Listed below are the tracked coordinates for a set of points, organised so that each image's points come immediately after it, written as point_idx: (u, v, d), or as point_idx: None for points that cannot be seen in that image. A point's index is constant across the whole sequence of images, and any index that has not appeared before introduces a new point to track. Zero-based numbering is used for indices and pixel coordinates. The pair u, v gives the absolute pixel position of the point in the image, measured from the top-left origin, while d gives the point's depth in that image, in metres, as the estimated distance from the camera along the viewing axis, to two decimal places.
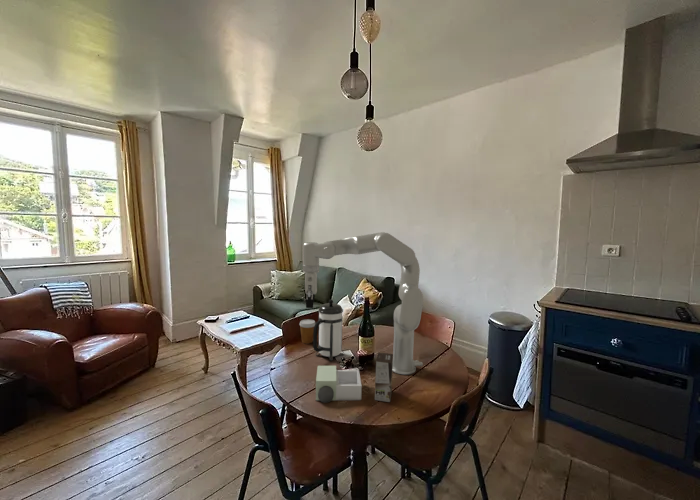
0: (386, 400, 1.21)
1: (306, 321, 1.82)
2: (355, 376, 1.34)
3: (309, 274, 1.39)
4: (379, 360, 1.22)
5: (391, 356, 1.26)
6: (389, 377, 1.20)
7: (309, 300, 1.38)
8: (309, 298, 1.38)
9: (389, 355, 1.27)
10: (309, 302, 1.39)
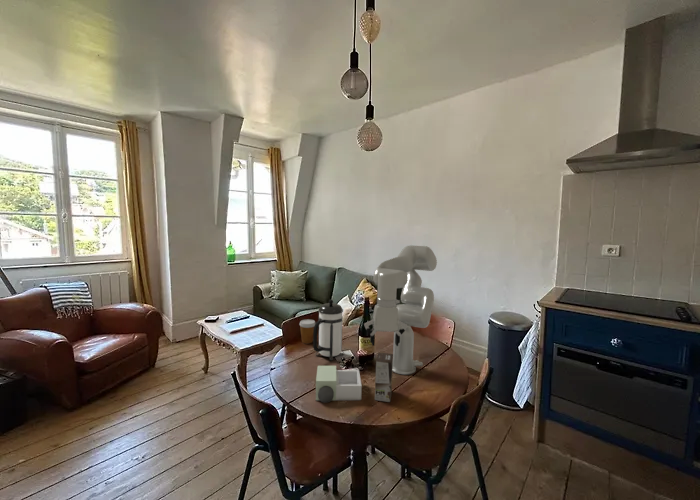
0: (386, 400, 1.21)
1: (306, 321, 1.82)
2: (355, 376, 1.34)
3: (397, 307, 1.23)
4: (379, 360, 1.22)
5: (391, 356, 1.26)
6: (389, 377, 1.20)
7: None
8: None
9: (389, 355, 1.27)
10: None
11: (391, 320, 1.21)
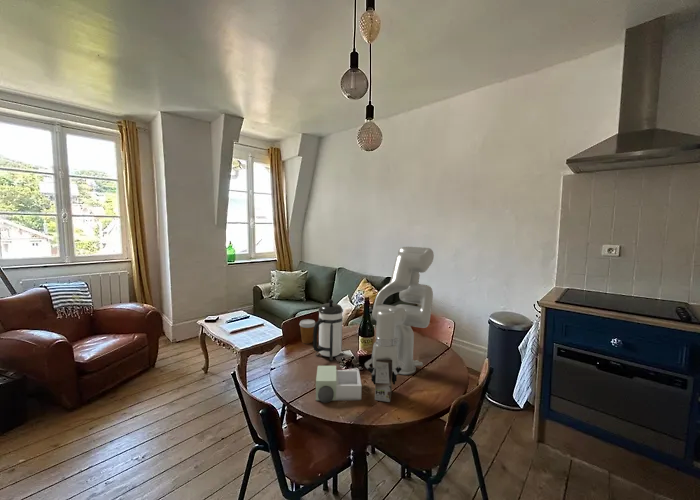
0: (386, 400, 1.21)
1: (306, 321, 1.82)
2: (355, 376, 1.34)
3: (396, 345, 1.24)
4: (379, 360, 1.22)
5: None
6: (389, 377, 1.20)
7: None
8: None
9: None
10: None
11: (390, 358, 1.22)
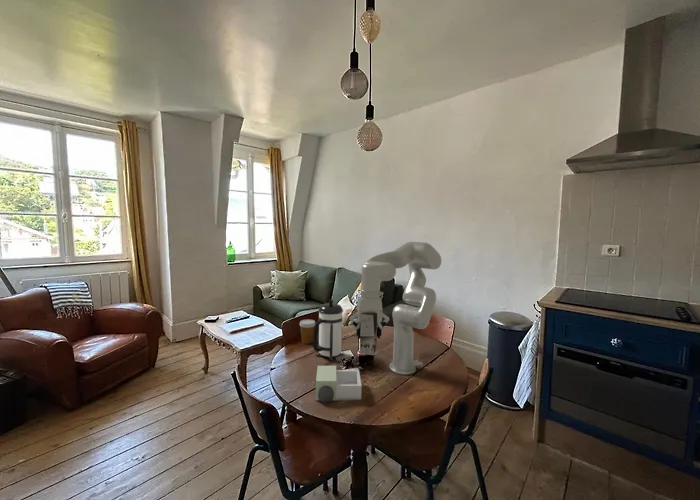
0: (371, 353, 1.20)
1: (306, 321, 1.82)
2: (355, 376, 1.34)
3: None
4: (364, 313, 1.21)
5: None
6: (374, 330, 1.20)
7: None
8: None
9: None
10: None
11: (375, 312, 1.22)
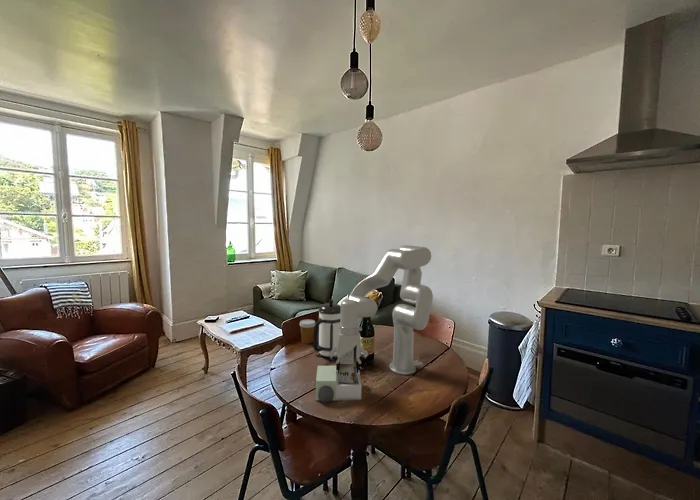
0: (349, 381, 1.23)
1: (306, 321, 1.82)
2: None
3: None
4: None
5: None
6: (354, 357, 1.24)
7: None
8: None
9: None
10: None
11: (353, 347, 1.24)
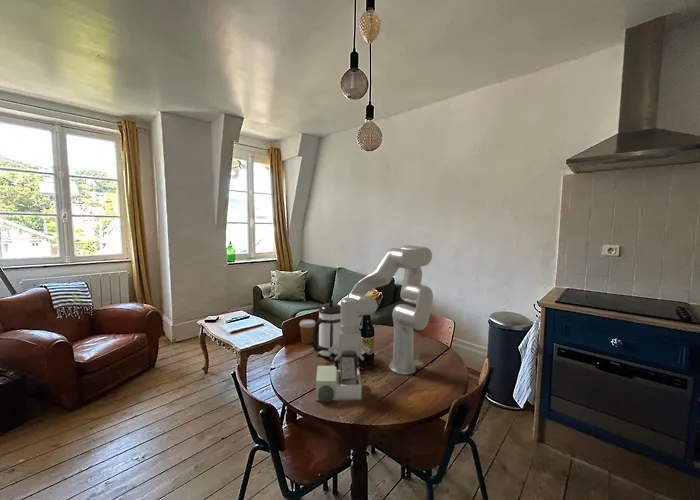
0: None
1: (306, 321, 1.82)
2: None
3: (360, 332, 1.26)
4: (344, 356, 1.23)
5: None
6: (355, 371, 1.23)
7: (363, 359, 1.28)
8: None
9: None
10: None
11: (354, 345, 1.24)
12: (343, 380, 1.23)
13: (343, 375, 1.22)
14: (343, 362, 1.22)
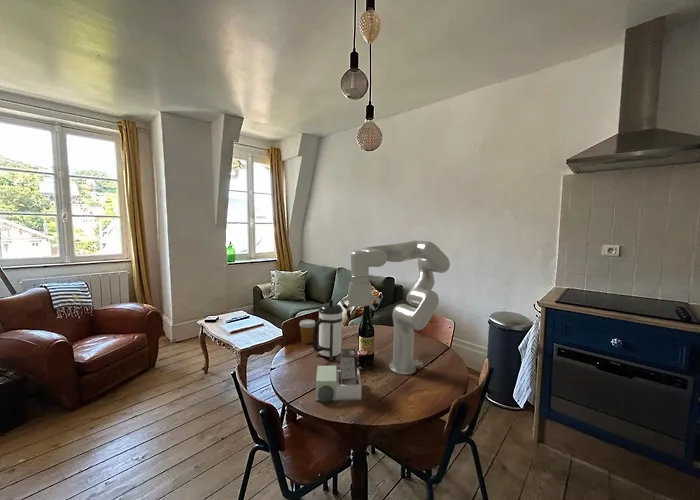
0: None
1: (306, 321, 1.82)
2: None
3: (370, 283, 1.31)
4: (345, 356, 1.23)
5: (355, 351, 1.28)
6: (355, 371, 1.23)
7: (373, 309, 1.33)
8: None
9: (352, 350, 1.29)
10: (373, 311, 1.33)
11: (365, 295, 1.30)
12: (343, 380, 1.23)
13: (343, 375, 1.22)
14: (343, 362, 1.22)
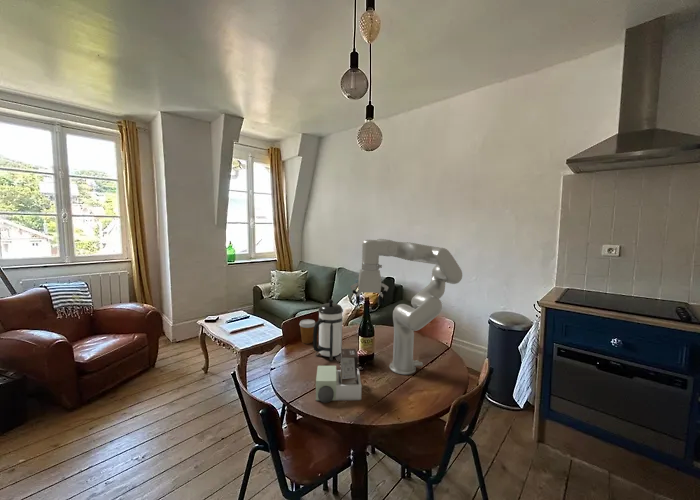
0: None
1: (306, 321, 1.82)
2: None
3: (379, 271, 1.39)
4: (345, 356, 1.23)
5: (355, 351, 1.28)
6: (355, 371, 1.23)
7: (382, 296, 1.40)
8: None
9: (352, 350, 1.29)
10: (381, 298, 1.40)
11: (374, 282, 1.37)
12: (343, 380, 1.23)
13: (343, 375, 1.22)
14: (343, 362, 1.22)
